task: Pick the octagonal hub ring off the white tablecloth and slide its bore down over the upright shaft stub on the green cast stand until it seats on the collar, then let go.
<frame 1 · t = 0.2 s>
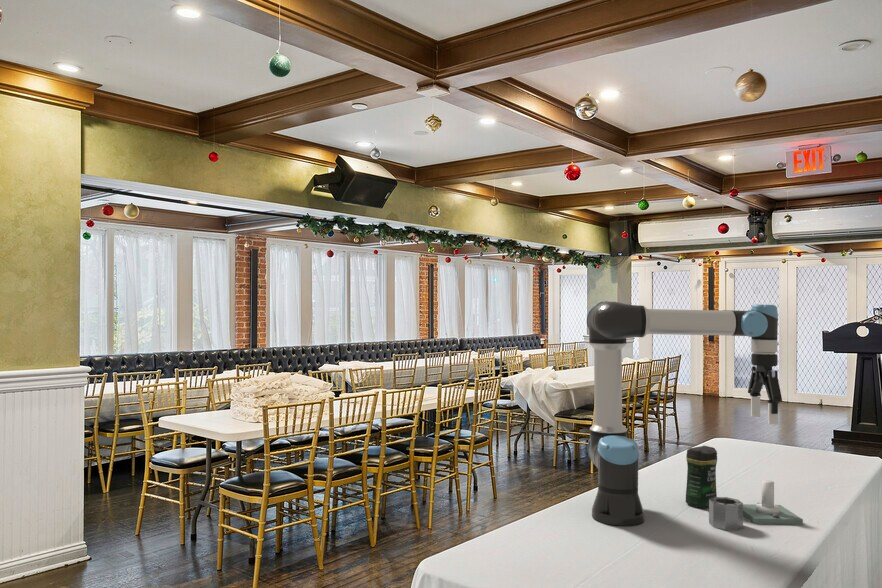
hand: (764, 420, 215), 28 cm above the table, fingers open, 13 cm apart
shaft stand: (767, 516, 206), on the table
coffee jar: (701, 505, 217), on the table
hub: (725, 525, 197), on the table
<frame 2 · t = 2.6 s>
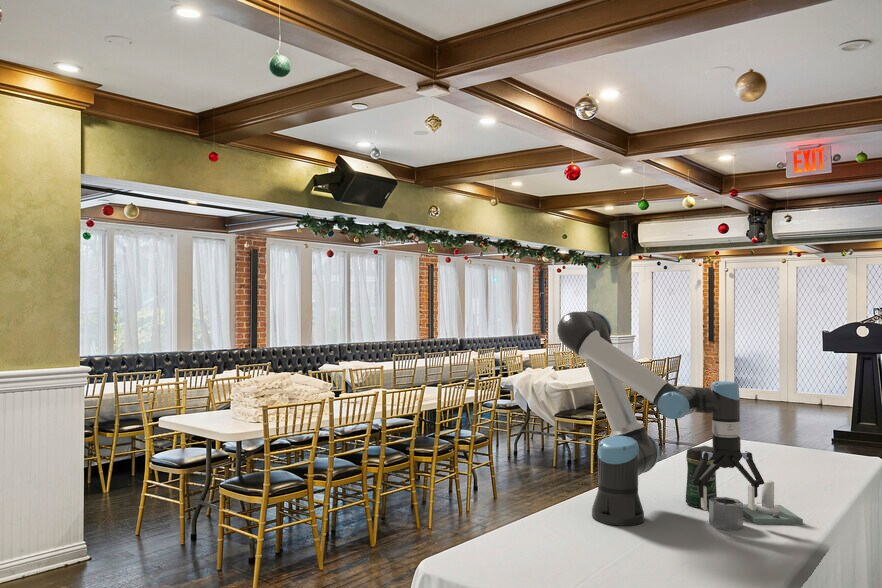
hand: (727, 508, 197), 5 cm above the table, fingers open, 13 cm apart
nothing on the table moved.
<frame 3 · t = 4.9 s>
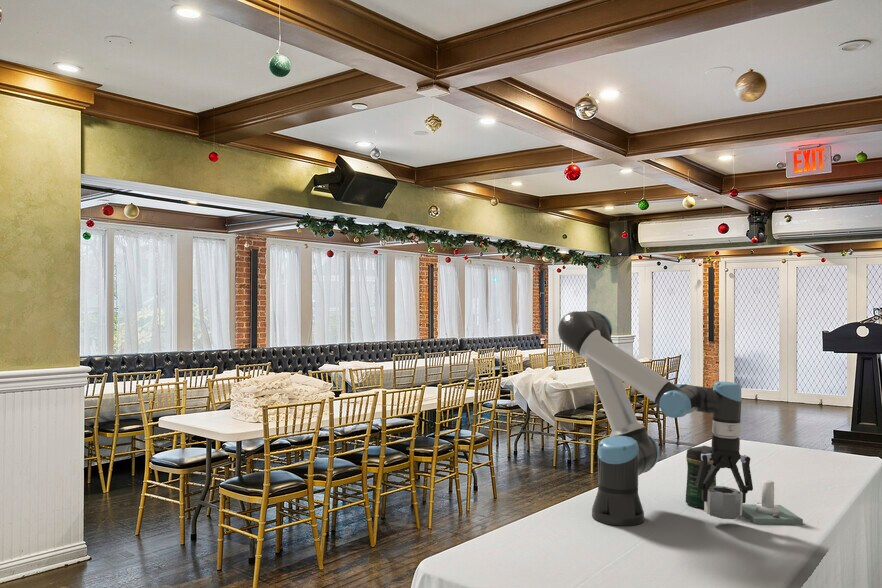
hand: (722, 513, 198), 3 cm above the table, fingers closed on hub, 8 cm apart
hub: (722, 514, 198), point 3 cm above the table, touching gripper
everything else where it was.
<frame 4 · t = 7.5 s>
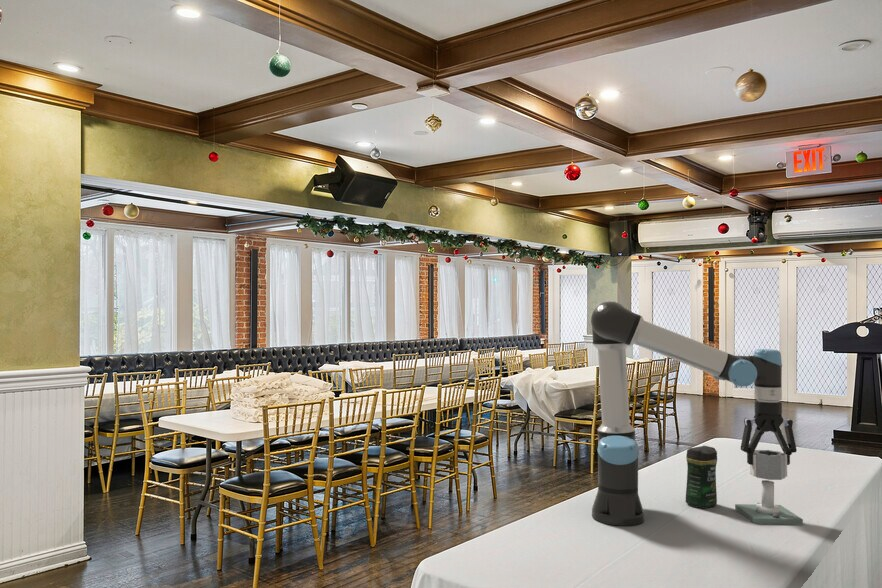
hand: (768, 475, 206), 12 cm above the table, fingers closed on hub, 8 cm apart
hub: (768, 476, 206), point 12 cm above the table, touching gripper
everything else where it was.
when the fingers open (4 cm above the table, at t = 10.2 s): hub stays where it is, resting on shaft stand.
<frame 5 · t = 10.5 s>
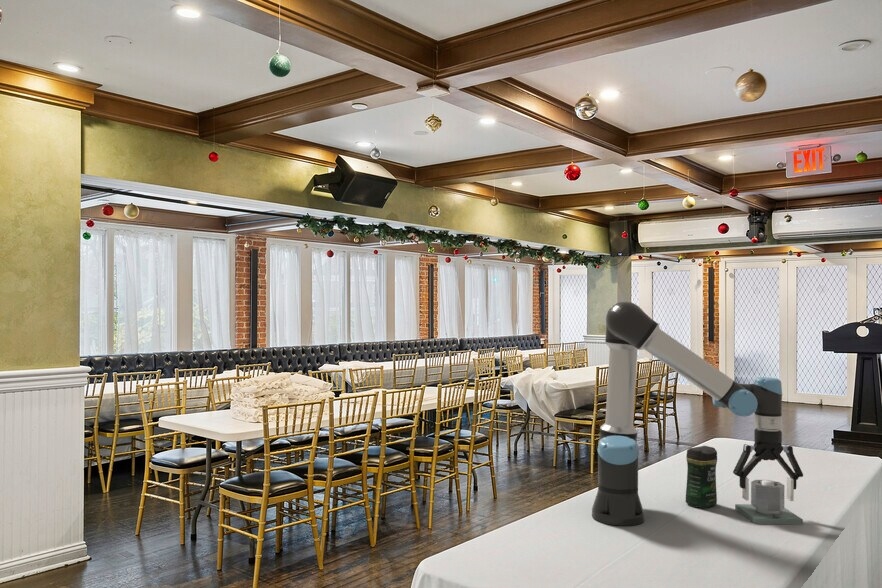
hand: (767, 499, 206), 5 cm above the table, fingers open, 13 cm apart
hub: (767, 506, 206), point 3 cm above the table, touching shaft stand
everything else where it was.
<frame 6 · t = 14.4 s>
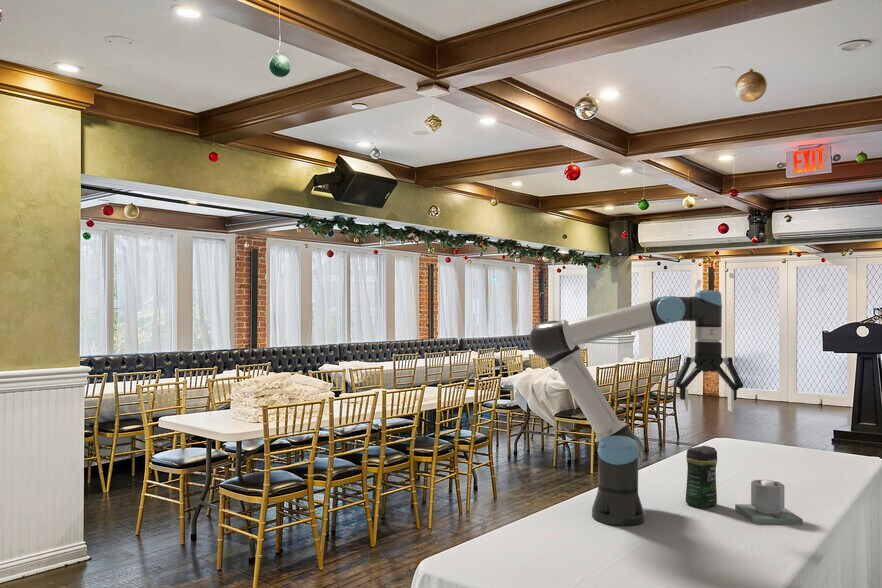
hand: (708, 410, 207), 32 cm above the table, fingers open, 13 cm apart
nothing on the table moved.
at the end: hub 0.1 cm off-centre on the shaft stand, point 3.0 cm above the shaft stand's base; hub tilted 0°; the gripper is holding nothing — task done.
